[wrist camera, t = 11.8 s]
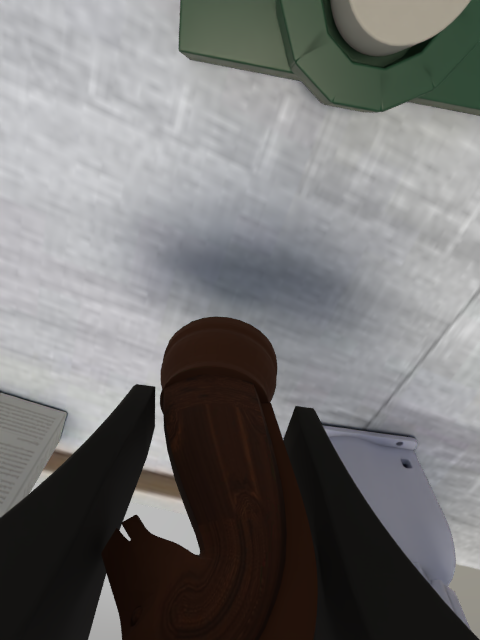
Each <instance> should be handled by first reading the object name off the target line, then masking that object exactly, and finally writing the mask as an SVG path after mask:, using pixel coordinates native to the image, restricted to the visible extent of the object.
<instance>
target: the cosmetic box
mask: <svg viewBox="0 0 480 640" xmlns="http://www.w3.org/2000/svg"><path fill="white" fill-rule="evenodd" d="M66 415H67V413H66V412H63V411H59V410H56V409H53V408H49V407H46V406H43V405H40V404H36V403H33V402H30V401H27V400H23V399H20V398H17V397H14V396H10V395H7V394H4V393H0V517H2V516H3V515H4V514H5V513H7V512H8V511H9V510H10V509H11V508H13V507H14V506H15V505H16V504H18V503H19V502H20V501H21V500H22V499H24V498H25V497H26V496H27V495H29V493H30V492H31V490H32V488H33V486H34V485H35V483H36V481H37V479H38V478H39V476H40V474H41V472H42V471H43V469H44V467H45V465H46V464H47V462H48V460H49V458H50V457H51V455H52V453H53V452H54V450H55V448H56V446H57V445H58V443H59V441H60V438H61V433H62V430H63V426H64V422H65V419H66Z"/></svg>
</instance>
